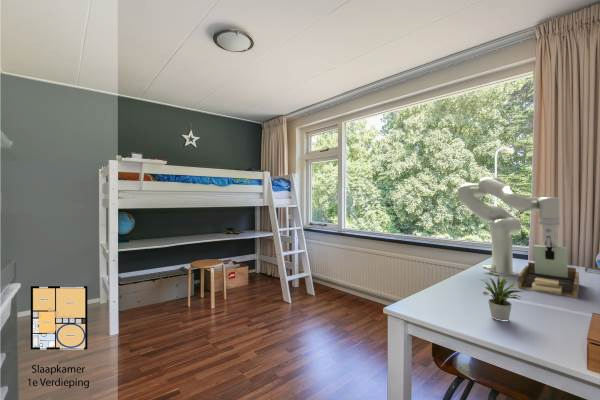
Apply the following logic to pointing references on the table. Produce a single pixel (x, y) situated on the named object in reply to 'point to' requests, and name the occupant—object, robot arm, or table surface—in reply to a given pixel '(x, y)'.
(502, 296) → the house plant
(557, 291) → the offcut lower
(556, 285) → the offcut upper
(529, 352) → the table surface
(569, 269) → the rack
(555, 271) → the green panel
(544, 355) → the table surface
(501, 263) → the robot arm
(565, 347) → the table surface
